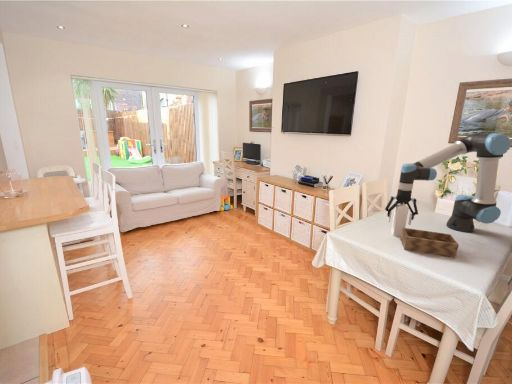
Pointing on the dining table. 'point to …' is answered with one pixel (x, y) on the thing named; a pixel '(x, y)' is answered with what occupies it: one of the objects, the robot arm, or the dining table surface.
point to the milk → (399, 219)
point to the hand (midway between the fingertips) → (399, 222)
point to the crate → (429, 242)
